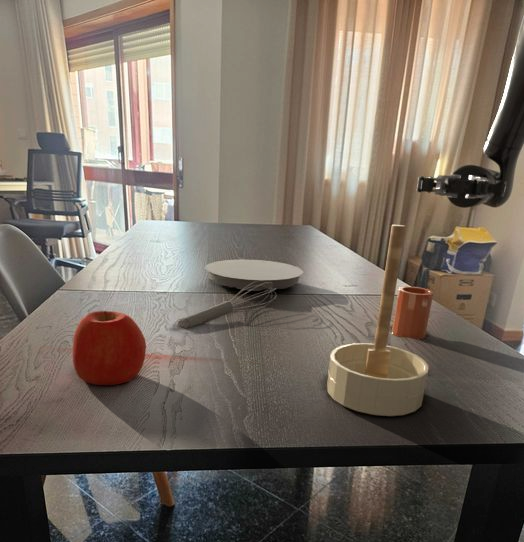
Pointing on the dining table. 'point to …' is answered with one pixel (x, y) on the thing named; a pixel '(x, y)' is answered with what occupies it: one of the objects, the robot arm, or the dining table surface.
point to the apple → (108, 348)
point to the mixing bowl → (376, 381)
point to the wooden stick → (386, 307)
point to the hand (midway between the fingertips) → (451, 186)
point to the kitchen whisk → (218, 310)
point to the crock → (412, 312)
